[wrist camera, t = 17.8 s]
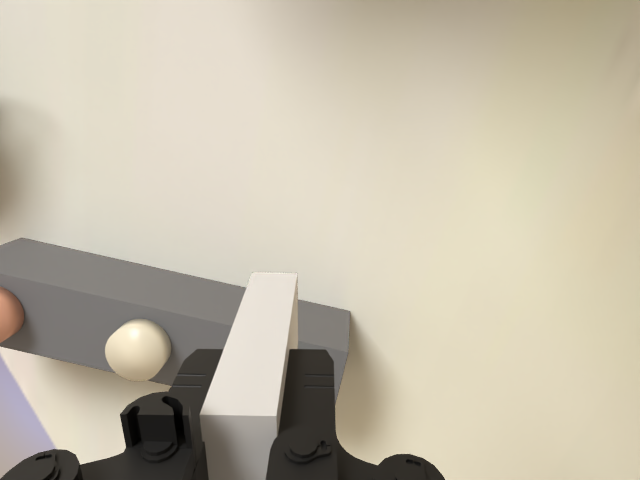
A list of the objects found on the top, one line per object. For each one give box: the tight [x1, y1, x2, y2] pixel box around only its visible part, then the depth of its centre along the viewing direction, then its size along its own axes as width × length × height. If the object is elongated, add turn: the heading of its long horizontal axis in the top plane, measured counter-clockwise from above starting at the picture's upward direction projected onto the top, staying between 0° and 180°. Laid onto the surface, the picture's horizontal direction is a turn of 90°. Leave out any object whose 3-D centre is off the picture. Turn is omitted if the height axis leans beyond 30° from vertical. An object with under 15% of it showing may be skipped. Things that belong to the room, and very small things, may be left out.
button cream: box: [105, 319, 171, 381], centre depth 38 cm, size 5×5×5 cm
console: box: [0, 238, 350, 403], centre depth 42 cm, size 34×7×8 cm, turn 78°
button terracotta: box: [0, 287, 24, 343], centre depth 39 cm, size 5×5×5 cm
